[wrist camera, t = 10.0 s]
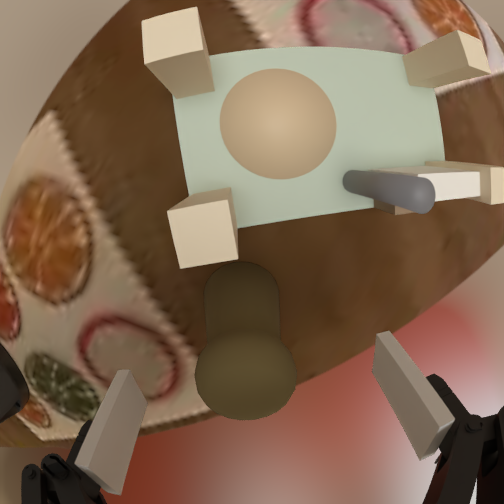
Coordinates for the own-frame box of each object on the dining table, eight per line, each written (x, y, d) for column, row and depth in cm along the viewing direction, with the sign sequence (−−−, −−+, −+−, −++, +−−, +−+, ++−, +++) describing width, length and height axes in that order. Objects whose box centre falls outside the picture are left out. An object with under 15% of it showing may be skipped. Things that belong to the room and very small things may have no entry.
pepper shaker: (222, 248, 21) (211, 331, 10) (292, 280, 22) (336, 373, 11) (192, 312, 22) (167, 415, 12) (258, 338, 23) (272, 442, 13)
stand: (200, 228, 20) (171, 284, 11) (174, 73, 17) (129, 9, 7) (433, 195, 20) (518, 219, 11) (413, 64, 17) (491, 34, 7)
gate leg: (370, 195, 18) (430, 213, 11) (367, 164, 17) (428, 168, 11) (445, 187, 18) (508, 202, 11) (444, 160, 17) (507, 167, 11)
